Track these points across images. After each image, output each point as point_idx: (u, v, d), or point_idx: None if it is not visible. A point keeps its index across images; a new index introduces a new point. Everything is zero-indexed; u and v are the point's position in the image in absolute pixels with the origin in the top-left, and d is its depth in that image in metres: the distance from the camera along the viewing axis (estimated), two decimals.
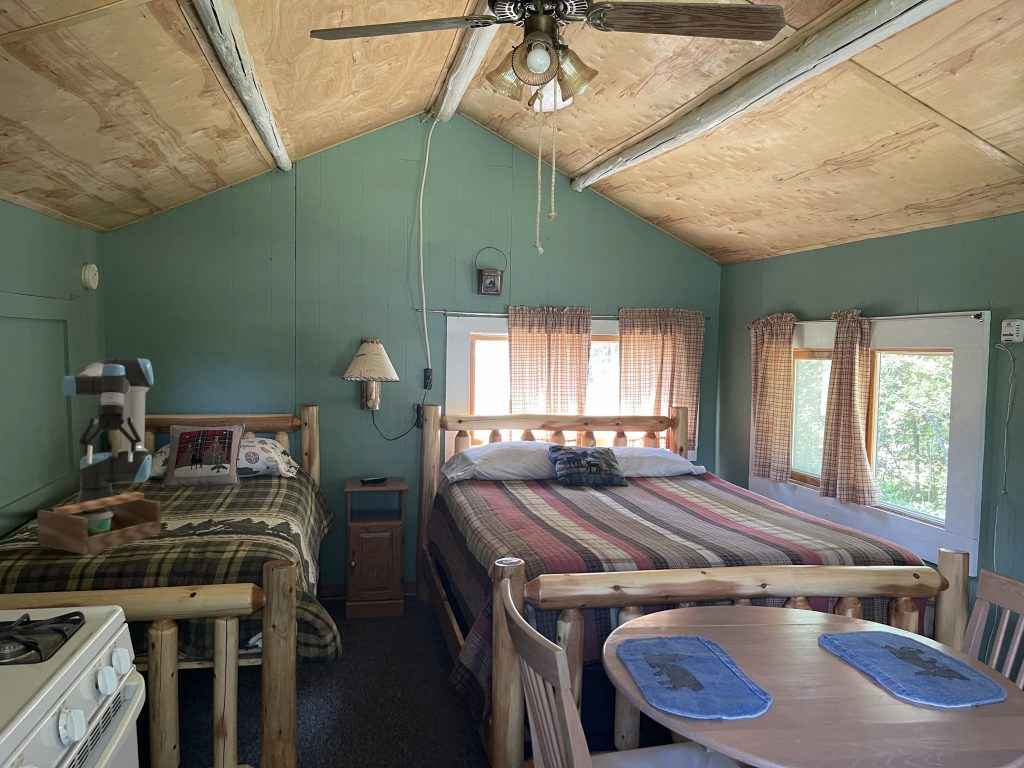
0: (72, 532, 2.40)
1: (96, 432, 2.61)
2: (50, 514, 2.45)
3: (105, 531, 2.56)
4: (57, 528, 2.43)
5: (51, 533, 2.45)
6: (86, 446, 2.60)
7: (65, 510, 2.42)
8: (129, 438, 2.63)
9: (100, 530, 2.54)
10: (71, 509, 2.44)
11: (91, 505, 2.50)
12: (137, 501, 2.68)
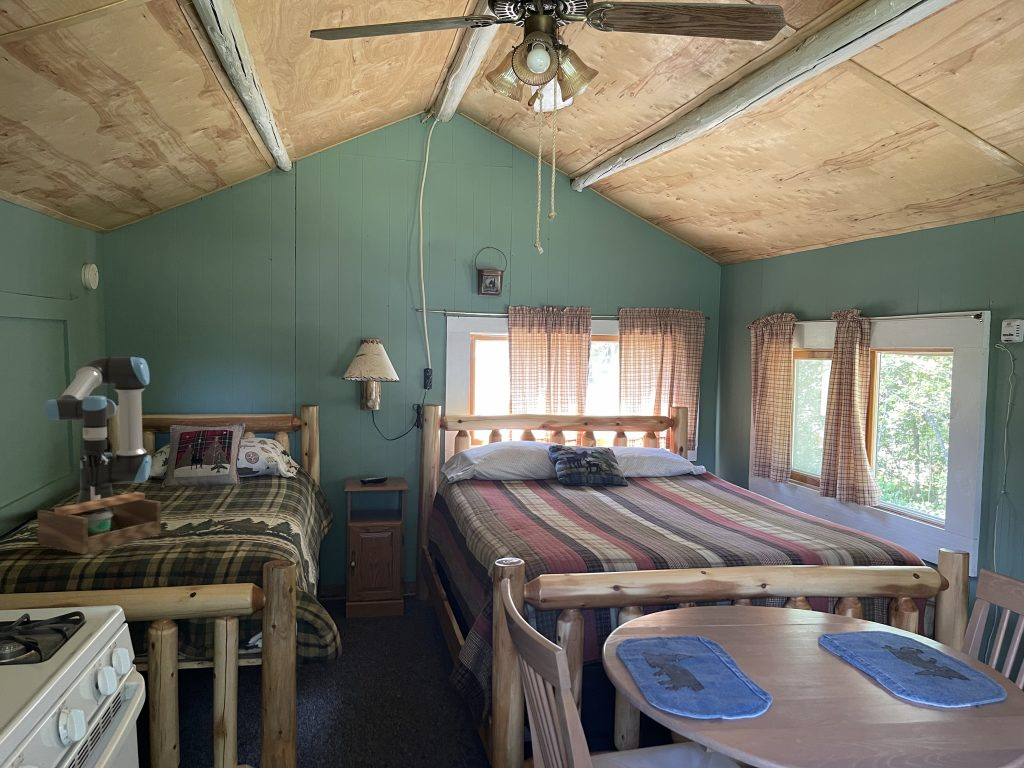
0: (72, 532, 2.40)
1: (89, 470, 2.56)
2: (50, 514, 2.45)
3: (105, 531, 2.56)
4: (57, 528, 2.43)
5: (51, 533, 2.45)
6: None
7: (66, 510, 2.42)
8: (94, 480, 2.55)
9: (100, 530, 2.54)
10: (72, 509, 2.43)
11: (92, 505, 2.50)
12: (137, 501, 2.68)
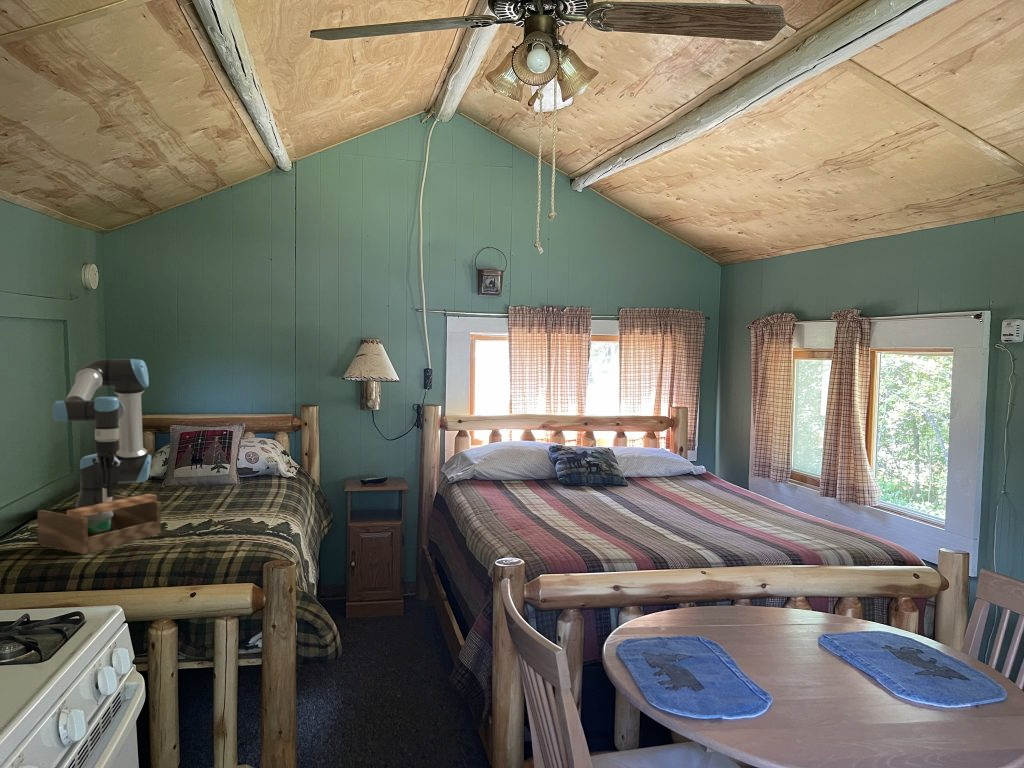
0: (72, 532, 2.40)
1: (101, 471, 2.53)
2: (50, 514, 2.45)
3: (105, 531, 2.56)
4: (57, 528, 2.43)
5: (51, 533, 2.45)
6: (104, 488, 2.54)
7: (78, 512, 2.39)
8: (106, 482, 2.52)
9: (100, 530, 2.54)
10: (84, 511, 2.41)
11: (104, 507, 2.47)
12: None
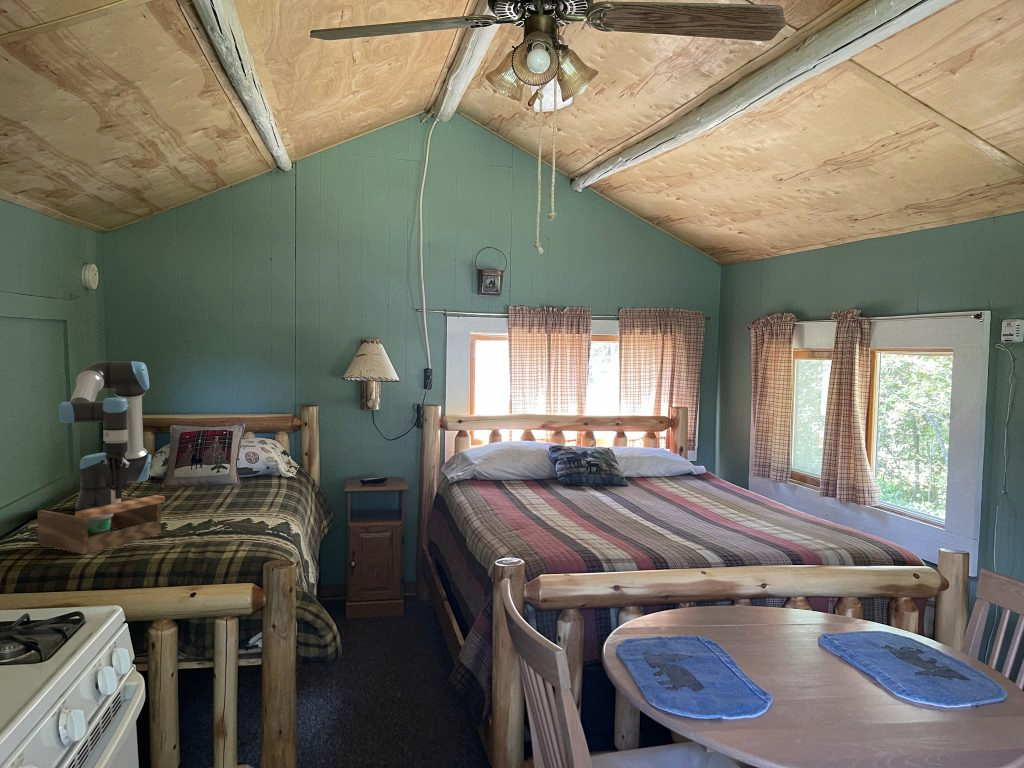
0: (72, 532, 2.40)
1: (110, 473, 2.52)
2: (50, 514, 2.45)
3: (105, 531, 2.56)
4: (57, 528, 2.43)
5: (51, 533, 2.45)
6: None
7: (87, 514, 2.37)
8: (115, 483, 2.51)
9: (100, 530, 2.54)
10: (93, 513, 2.39)
11: (113, 509, 2.46)
12: None
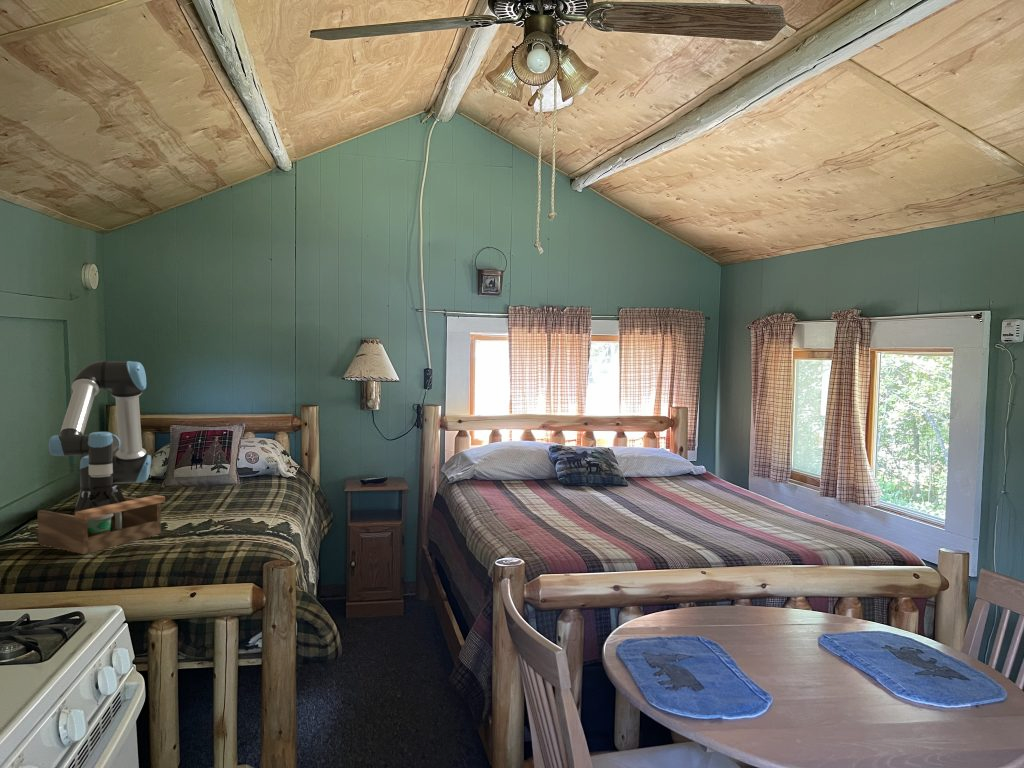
0: (72, 532, 2.40)
1: None
2: (50, 514, 2.45)
3: (105, 531, 2.56)
4: (57, 528, 2.43)
5: (51, 533, 2.45)
6: None
7: (87, 514, 2.37)
8: None
9: (100, 530, 2.54)
10: (93, 513, 2.39)
11: (113, 509, 2.46)
12: None
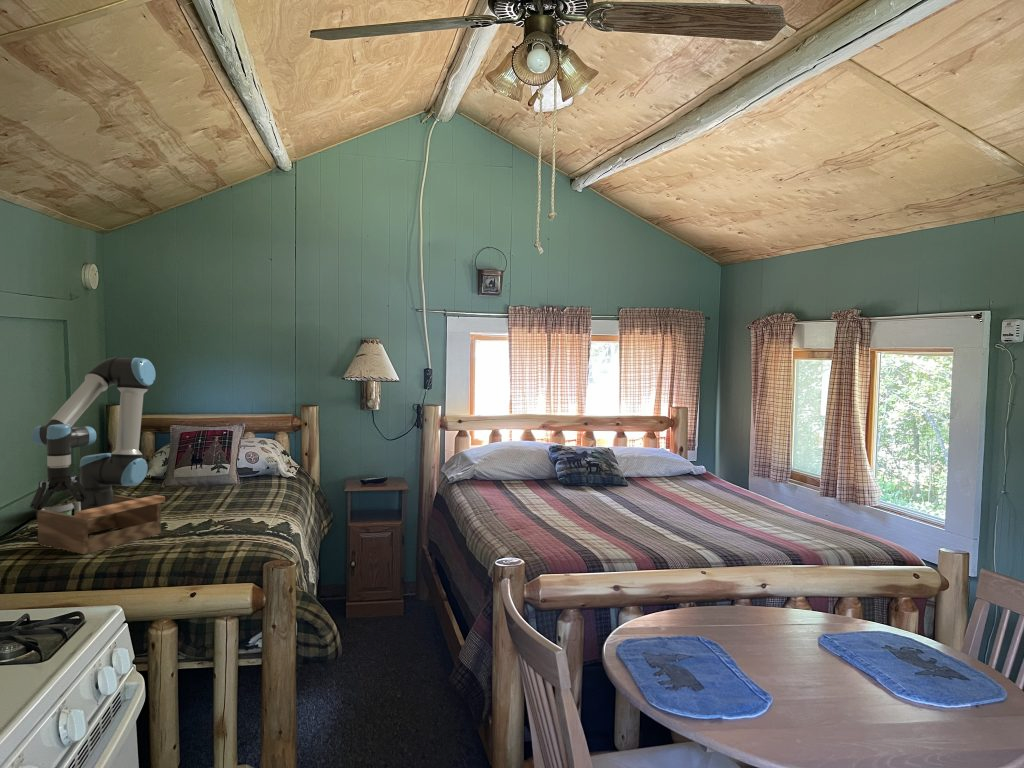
0: (72, 532, 2.40)
1: None
2: (50, 514, 2.45)
3: None
4: (57, 528, 2.43)
5: (51, 533, 2.45)
6: None
7: (87, 514, 2.37)
8: None
9: None
10: (93, 513, 2.39)
11: (113, 509, 2.46)
12: None
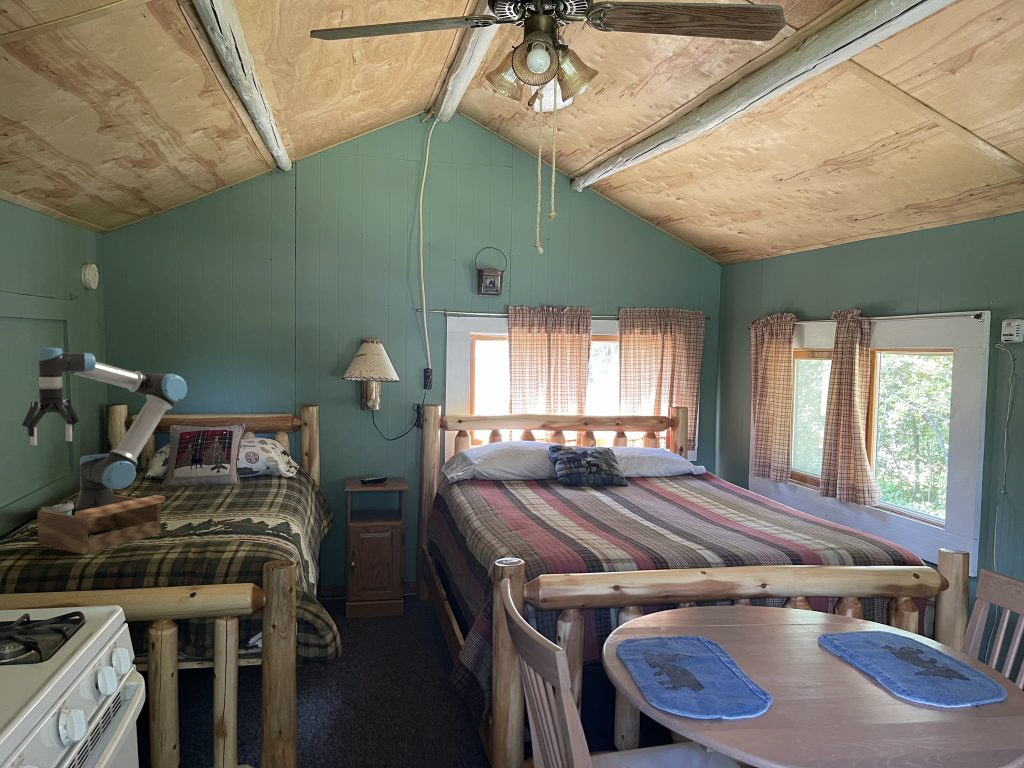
0: (72, 532, 2.40)
1: None
2: (50, 514, 2.45)
3: None
4: (57, 528, 2.43)
5: (51, 533, 2.45)
6: None
7: (87, 514, 2.37)
8: None
9: None
10: (93, 513, 2.39)
11: (113, 509, 2.46)
12: None
